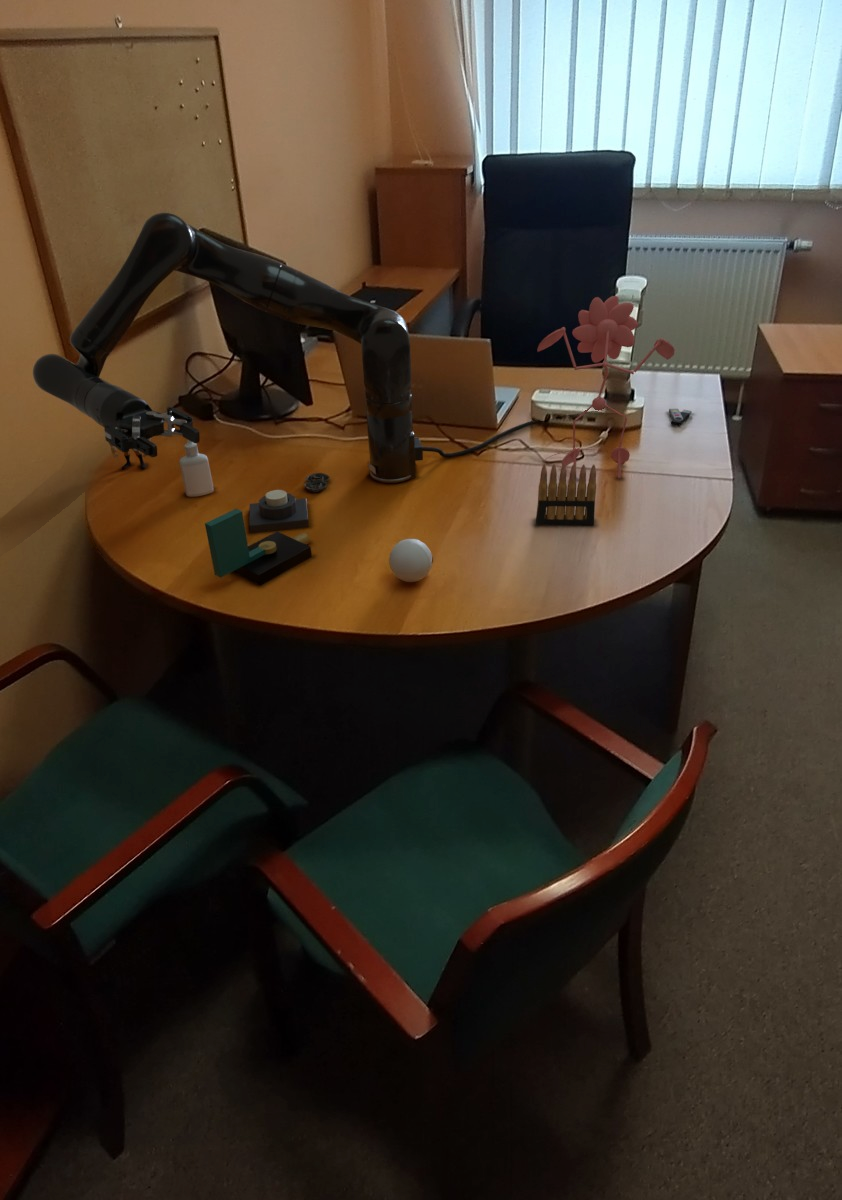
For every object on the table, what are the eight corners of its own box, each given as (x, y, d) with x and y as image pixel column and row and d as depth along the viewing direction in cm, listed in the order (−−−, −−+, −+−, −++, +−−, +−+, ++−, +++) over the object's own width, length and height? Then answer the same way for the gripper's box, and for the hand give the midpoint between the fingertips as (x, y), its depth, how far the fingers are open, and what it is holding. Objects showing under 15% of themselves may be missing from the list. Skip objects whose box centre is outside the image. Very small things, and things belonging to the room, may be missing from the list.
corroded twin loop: (302, 494, 171) (302, 489, 171) (307, 477, 178) (306, 472, 177) (327, 493, 171) (327, 488, 170) (330, 476, 178) (330, 471, 177)
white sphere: (436, 588, 141) (435, 550, 137) (392, 592, 140) (390, 554, 136) (428, 557, 149) (427, 521, 145) (386, 561, 149) (384, 525, 145)
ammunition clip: (536, 525, 158) (539, 466, 151) (535, 520, 159) (538, 462, 153) (593, 525, 157) (599, 466, 150) (593, 521, 159) (598, 462, 152)
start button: (287, 496, 163) (286, 488, 162) (288, 506, 159) (286, 498, 158) (266, 498, 162) (265, 490, 161) (266, 508, 159) (265, 500, 158)
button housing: (307, 505, 167) (304, 487, 165) (309, 527, 160) (306, 508, 158) (251, 511, 166) (248, 493, 164) (250, 533, 159) (247, 514, 156)
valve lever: (268, 544, 150) (261, 494, 144) (280, 549, 148) (272, 499, 143) (212, 573, 142) (201, 521, 137) (223, 579, 140) (213, 527, 135)
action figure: (110, 470, 184) (93, 404, 175) (116, 463, 187) (100, 398, 178) (153, 470, 183) (138, 404, 175) (158, 463, 186) (143, 398, 178)
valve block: (290, 535, 157) (288, 525, 156) (323, 550, 152) (322, 540, 151) (227, 568, 148) (225, 557, 147) (260, 585, 143) (258, 574, 142)
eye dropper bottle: (209, 498, 171) (198, 443, 164) (183, 497, 172) (171, 442, 165) (216, 488, 175) (206, 434, 168) (191, 487, 176) (180, 433, 169)
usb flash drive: (680, 426, 194) (680, 422, 193) (657, 422, 196) (658, 418, 196) (692, 414, 200) (692, 410, 199) (670, 410, 202) (671, 406, 202)
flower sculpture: (661, 479, 172) (687, 303, 152) (535, 483, 172) (544, 308, 153) (644, 448, 185) (665, 282, 165) (526, 452, 185) (534, 287, 165)
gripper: (78, 399, 140) (138, 435, 133) (150, 381, 150) (210, 413, 142) (83, 441, 144) (142, 477, 137) (153, 420, 154) (211, 453, 147)
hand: (177, 444), depth 140 cm, fingers open, 8 cm apart
